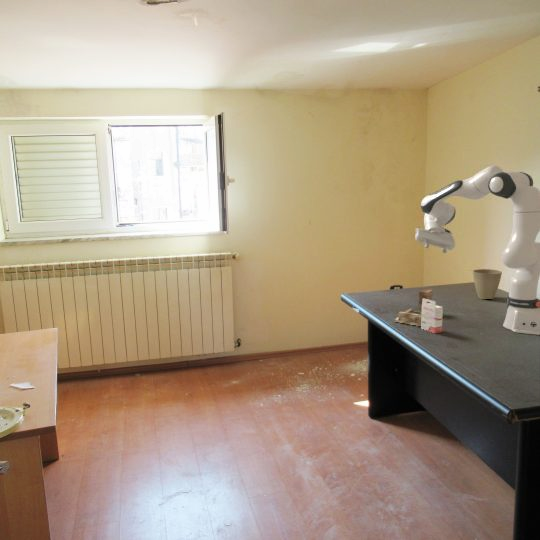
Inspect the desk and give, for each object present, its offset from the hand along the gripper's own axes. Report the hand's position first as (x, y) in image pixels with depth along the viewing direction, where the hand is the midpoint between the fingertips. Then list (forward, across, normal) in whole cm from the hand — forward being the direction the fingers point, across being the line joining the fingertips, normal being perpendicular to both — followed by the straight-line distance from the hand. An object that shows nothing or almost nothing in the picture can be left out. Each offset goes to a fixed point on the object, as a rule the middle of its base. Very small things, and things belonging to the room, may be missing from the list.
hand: (436, 249), depth 238 cm
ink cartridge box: (+44, 0, +12) cm, 45 cm away
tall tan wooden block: (+20, +5, +27) cm, 33 cm away
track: (+32, -4, +21) cm, 38 cm away
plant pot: (-10, +46, +33) cm, 57 cm away
